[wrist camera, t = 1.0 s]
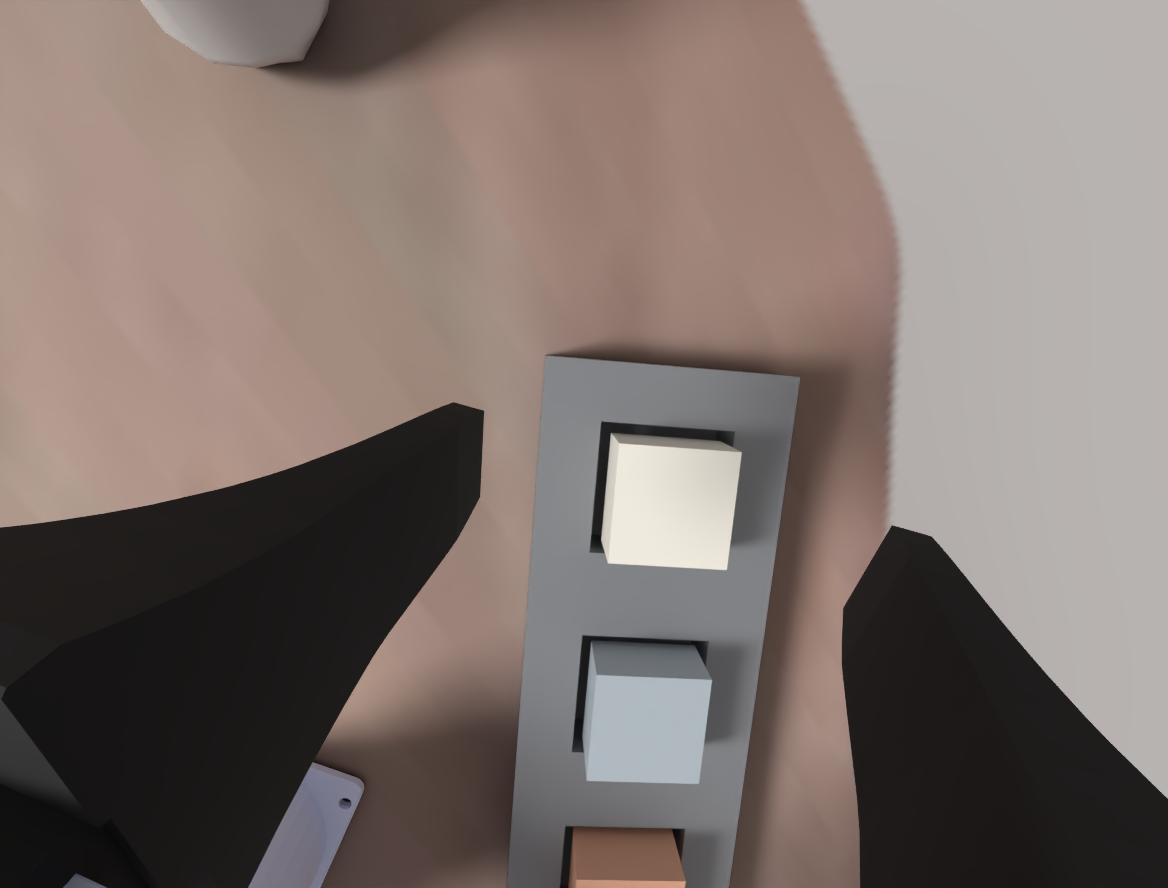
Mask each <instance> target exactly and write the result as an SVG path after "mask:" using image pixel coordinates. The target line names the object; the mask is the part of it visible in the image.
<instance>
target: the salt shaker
mask: <svg viewBox="0 0 1168 888" xmlns="http://www.w3.org/2000/svg"><path fill="white" fill-rule="evenodd" d="M140 1H141V2H142V3H143V5H144V6H145V7H146V8H147V10H148V11H149V12H150V14H151V15H152V16H153V18H154V19H155V20H156V21H157V23H158V24H159V25H160V27H161V28H162V29H163V31H164V32H166V33H167V34H169V35H170V36H172V37H173V38H175V39H177V40H178V41H180V42H181V43H183V44H184V45H186V46H187V47H189V48H190V49H192V50H194V51H195V52H197V53H198V54H200V55H201V56H203V57H204V58H206V59H208V60H210V61H212V62H213V63H217V64H225V65H234V66H243V67H252V68H258V67H263V66H268V65H272V64H277V63H286V62H295V61H303V60H304V58H305V56H306V54H307V52H308V50H309V48H310V46H311V44H312V42H313V40H314V38H315V36H316V34H317V32H318V30H319V28H320V26H321V24H322V22H323V20H324V18H325V17H326V15H327V13H328V6H329V0H140Z"/></svg>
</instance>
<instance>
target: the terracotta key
mask: <svg viewBox="0 0 1168 888" xmlns="http://www.w3.org/2000/svg"><path fill="white" fill-rule="evenodd" d="M685 883H686V881H685V877H684V873H683V869H682V865H681V862H680V858H679V854H678V850H677V847H676V843H675V839H674V835H673V831H672V829H665V828H619V827H573V837H572V847H571V858H570V869H569V880H568V888H685Z"/></svg>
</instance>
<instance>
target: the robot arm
mask: <svg viewBox="0 0 1168 888" xmlns="http://www.w3.org/2000/svg"><path fill="white" fill-rule="evenodd" d="M483 423H484V411H483V410H479V409H475V408H472V407H468V406H465V405H461V404H458V403H454V402H453V403H450V404H448V405H445V406H442V407H440V408H437V409H435V410H433V411H430V412H428V413H426V414H423V415H421V416H419V417H417V418H414V419H412V420H410V421H407V422H405V423H403V424H401V425H398V426H396V427H394V428H391V429H389V430H387V431H384V432H382V433H380V434H377V435H375V436H373V437H370V438H368V439H366V440H363V441H361V442H359V443H356V444H354V445H351V446H349V447H346V448H343V449H341V450H338V451H335V452H333V453H330V454H328V455H325V456H322V457H320V458H317V459H314V460H312V461H309V462H307V463H304V464H301V465H298V466H295V467H292V468H290V469H287V470H284V471H280V472H277V473H274V474H271V475H268V476H264V477H261V478H258V479H254V480H251V481H247V482H244V483H240V484H237V485H234V486H230V487H226V488H222V489H218V490H214V491H210V492H205V493H201V494H197V495H192V496H188V497H183V498H179V499H175V500H170V501H166V502H162V503H157V504H153V505H148V506H143V507H138V508H132V509H127V510H121V511H116V512H110V513H105V514H98V515H92V516H86V517H79V518H73V519H66V520H60V521H53V522H45V523H38V524H30V525H21V526H12V527H3V528H0V888H320V887H321V885H322V883H323V881H324V878H325V876H326V874H327V872H328V870H329V867H330V865H331V863H332V861H333V858H334V856H335V854H336V852H337V850H338V847H339V845H340V843H341V841H342V838H343V836H344V834H345V832H346V830H347V827H348V825H349V823H350V821H351V818H352V816H353V814H354V812H355V810H356V807H357V805H358V803H359V801H360V799H361V796H362V794H363V791H364V784H363V782H362V781H361V780H360V779H358V778H357V777H354V776H351V775H348V774H345V773H342V772H339V771H337V770H334V769H331V768H328V767H325V766H322V765H319V764H317V763H314V762H313V761H314V759H315V757H316V755H317V753H318V752H319V750H320V748H321V746H322V744H323V743H324V741H325V739H326V737H327V735H328V734H329V732H330V730H331V728H332V727H333V725H334V723H335V721H336V719H337V718H338V716H339V714H340V712H341V710H342V709H343V707H344V705H345V703H346V702H347V700H348V698H349V697H350V695H351V693H352V691H353V690H354V688H355V686H356V685H357V683H358V681H359V680H360V678H361V676H362V674H363V673H364V671H365V669H366V668H367V666H368V664H369V663H370V661H371V659H372V658H373V656H374V654H375V653H376V651H377V650H378V648H379V647H380V645H381V644H382V642H383V641H384V639H385V638H386V636H387V635H388V633H389V632H390V631H391V629H392V628H393V627H394V625H395V624H396V623H397V621H398V620H399V618H400V617H401V616H402V614H403V613H404V612H405V610H406V609H407V608H408V606H409V605H410V604H411V602H412V601H413V599H414V598H415V597H416V595H417V594H418V593H419V591H420V590H421V589H422V587H423V586H424V585H425V583H426V582H427V580H428V579H429V578H430V576H431V575H432V574H433V572H434V571H435V570H436V568H437V567H438V565H439V564H440V563H441V561H442V560H443V559H444V557H445V556H446V554H447V553H448V552H449V550H450V549H451V547H452V546H453V545H454V543H455V542H456V540H457V539H458V537H459V535H460V533H461V531H462V530H463V528H464V526H465V524H466V522H467V521H468V519H469V517H470V515H471V513H472V511H473V509H474V507H475V505H476V504H477V502H478V500H479V498H480V486H481V465H482V444H483ZM842 670H843V680H844V689H845V698H846V708H847V716H848V725H849V733H850V741H851V750H852V758H853V767H854V775H855V784H856V792H857V802H858V816H859V829H860V888H1168V799H1167V798H1166V797H1165V796H1164V795H1163V794H1162V793H1161V792H1160V791H1159V790H1158V789H1157V788H1156V787H1155V786H1154V785H1153V784H1152V783H1151V782H1150V781H1149V780H1148V779H1147V778H1146V777H1145V776H1144V775H1143V774H1142V773H1141V772H1140V771H1139V770H1138V769H1137V768H1135V767H1134V766H1133V765H1132V764H1131V763H1130V762H1129V761H1128V760H1127V759H1126V758H1125V757H1124V756H1123V755H1122V754H1121V753H1120V752H1119V751H1118V750H1117V749H1116V748H1115V747H1114V746H1113V745H1112V744H1111V743H1110V742H1109V741H1108V740H1107V739H1106V738H1105V737H1104V736H1103V735H1102V734H1101V733H1100V732H1099V731H1098V730H1097V729H1096V728H1095V727H1094V726H1093V724H1092V723H1091V722H1090V721H1089V720H1088V719H1087V718H1086V717H1085V716H1084V715H1083V714H1082V713H1081V712H1080V711H1079V710H1078V708H1077V707H1076V706H1075V705H1074V704H1073V703H1072V702H1071V701H1070V700H1069V698H1068V697H1067V696H1066V695H1065V694H1064V693H1063V692H1062V691H1061V690H1060V689H1059V688H1058V686H1056V684H1055V683H1054V682H1053V681H1052V680H1051V679H1050V678H1049V677H1048V675H1046V673H1045V672H1044V671H1043V670H1042V669H1041V667H1040V666H1039V665H1038V664H1037V663H1036V662H1035V661H1034V659H1033V658H1032V657H1031V656H1030V655H1029V654H1028V652H1027V651H1026V650H1025V649H1024V648H1023V646H1022V645H1021V644H1020V643H1019V642H1018V641H1017V639H1016V638H1015V637H1014V636H1013V635H1012V633H1011V632H1010V631H1009V630H1008V629H1007V627H1006V626H1005V625H1004V624H1003V623H1002V621H1001V620H1000V619H999V618H998V616H997V615H996V614H995V613H994V611H993V610H992V609H991V608H990V607H989V606H988V604H987V603H986V602H985V600H984V599H983V598H982V597H981V595H980V594H979V593H978V592H977V590H976V589H975V588H974V587H973V585H972V584H971V583H970V582H969V581H968V579H967V578H966V577H965V576H964V574H963V573H962V572H961V571H960V569H959V568H958V567H957V566H956V564H955V563H954V562H953V561H952V560H951V558H950V557H949V556H948V555H947V554H946V552H944V550H943V549H942V548H941V547H940V545H939V544H938V543H937V542H936V541H935V540H934V539H933V538H932V537H931V536H928V535H925V534H921V533H918V532H914V531H910V530H907V529H903V528H900V527H896V526H893V525H892V526H891V528H890V530H889V531H888V533H887V535H886V537H885V538H884V540H883V542H882V543H881V545H880V547H879V548H878V550H877V552H876V553H875V555H874V557H873V559H872V560H871V562H870V564H869V565H868V567H867V569H866V570H865V572H864V574H863V576H862V577H861V579H860V581H859V582H858V584H857V586H856V587H855V589H854V591H853V593H852V594H851V596H850V598H849V599H848V601H847V603H846V604H845V606H844V608H843V630H842ZM342 798H348V799H349V800H350V801H351V802H345V801H344V800H343V799H342Z"/></svg>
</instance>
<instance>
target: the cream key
mask: <svg viewBox="0 0 1168 888" xmlns="http://www.w3.org/2000/svg"><path fill="white" fill-rule="evenodd" d="M741 455H742V452H740V451H738V450H736V449H734V448H733V447H731V446H729V445H727V444H725V443H723V442H721V441H715V440H702V439H688V438H675V437H661V436H648V435H634V434H621V433H611V438H610V449H609V460H608V471H607V482H606V492H605V503H604V514H603V525H602V536H601V541H602V545H603V548H604V551H605V555H606V558H607V562H608V563H610V564H628V565H645V566H663V567H680V568H698V569H715V570H727V565H728V557H729V549H730V541H731V534H732V526H733V518H734V510H735V502H736V494H737V486H738V479H739V471H740V463H741Z"/></svg>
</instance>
